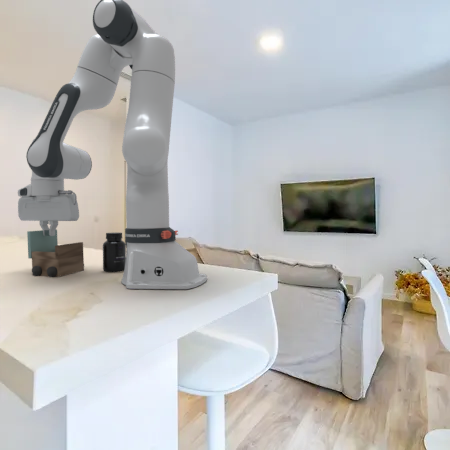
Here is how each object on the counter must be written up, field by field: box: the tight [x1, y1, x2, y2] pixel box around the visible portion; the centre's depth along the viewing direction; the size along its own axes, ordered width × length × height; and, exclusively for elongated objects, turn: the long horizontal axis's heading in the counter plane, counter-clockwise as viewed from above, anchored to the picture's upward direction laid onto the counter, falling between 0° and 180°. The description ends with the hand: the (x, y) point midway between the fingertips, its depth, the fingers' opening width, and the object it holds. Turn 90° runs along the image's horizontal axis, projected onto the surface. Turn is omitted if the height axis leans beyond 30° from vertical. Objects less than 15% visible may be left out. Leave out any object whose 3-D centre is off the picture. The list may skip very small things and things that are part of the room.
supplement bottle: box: [102, 232, 127, 273], centre depth 97 cm, size 7×7×12 cm
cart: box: [31, 241, 85, 278], centre depth 95 cm, size 10×12×9 cm
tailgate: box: [26, 228, 59, 260], centre depth 96 cm, size 2×10×8 cm, turn 164°
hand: (49, 235), depth 96 cm, fingers closed
